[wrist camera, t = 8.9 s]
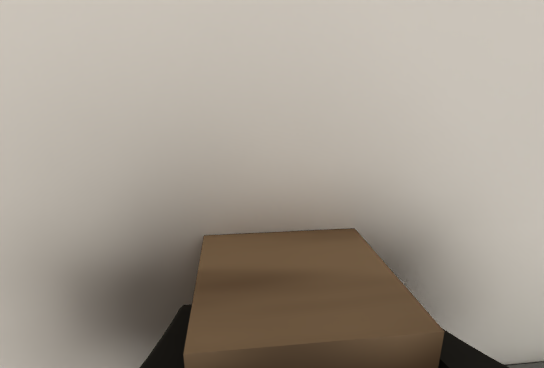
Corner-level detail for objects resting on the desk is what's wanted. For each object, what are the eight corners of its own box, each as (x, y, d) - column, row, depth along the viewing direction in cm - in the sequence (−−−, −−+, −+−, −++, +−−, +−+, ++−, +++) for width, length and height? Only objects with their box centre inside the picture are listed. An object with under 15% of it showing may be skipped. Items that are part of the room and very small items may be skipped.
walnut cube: (345, 350, 13) (413, 507, 8) (211, 362, 12) (199, 540, 7) (354, 228, 11) (444, 331, 7) (204, 235, 11) (183, 353, 6)
